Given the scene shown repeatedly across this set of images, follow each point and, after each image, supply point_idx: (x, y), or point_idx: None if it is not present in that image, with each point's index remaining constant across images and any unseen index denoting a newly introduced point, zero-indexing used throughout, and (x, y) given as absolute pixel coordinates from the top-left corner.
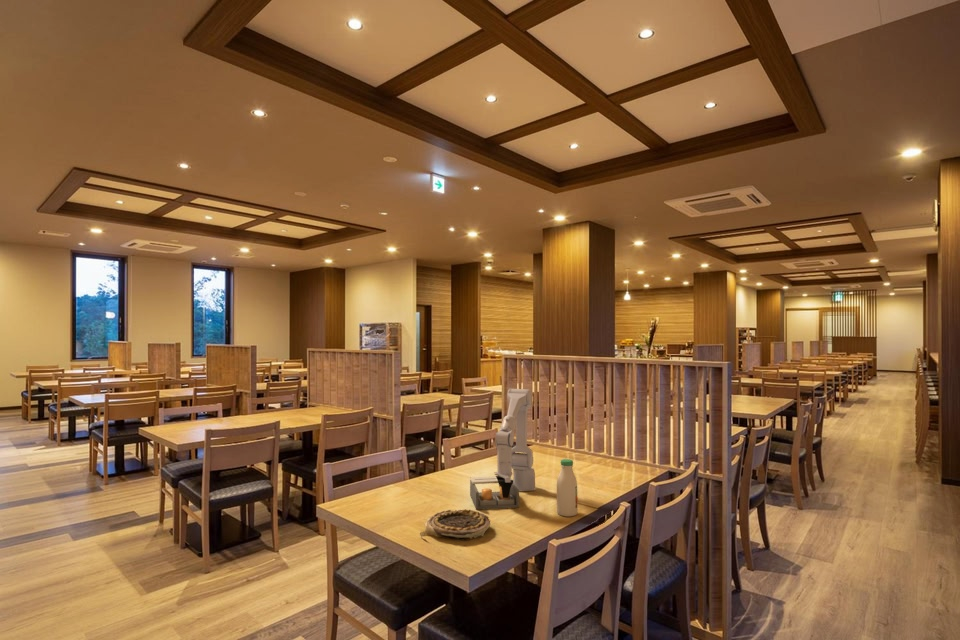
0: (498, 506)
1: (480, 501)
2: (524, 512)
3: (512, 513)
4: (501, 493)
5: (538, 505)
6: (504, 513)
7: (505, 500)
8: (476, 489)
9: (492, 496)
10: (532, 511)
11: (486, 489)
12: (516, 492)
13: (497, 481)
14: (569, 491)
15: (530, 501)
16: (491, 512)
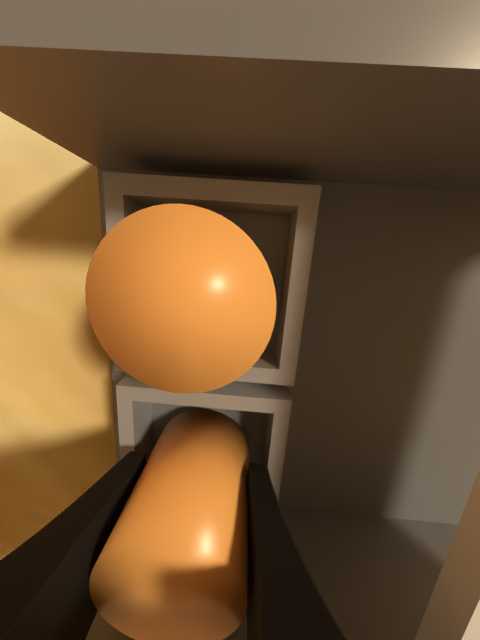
0: (112, 361)
1: (103, 183)
2: (37, 490)
3: (18, 419)
4: (148, 474)
5: None
6: (17, 368)
7: (122, 448)
8: (115, 23)
9: (264, 366)
10: None
11: (209, 310)
12: None
13: (466, 609)
14: None
15: None
16: (39, 278)
